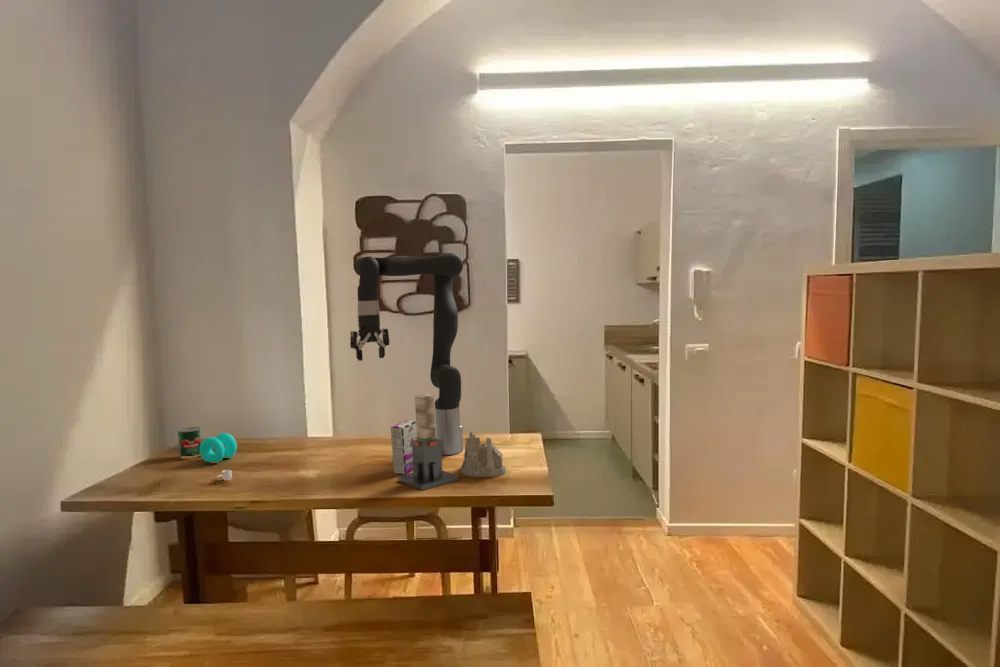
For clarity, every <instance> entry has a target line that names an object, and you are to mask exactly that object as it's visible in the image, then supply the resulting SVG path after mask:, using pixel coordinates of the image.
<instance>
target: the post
mask: <svg viewBox="0 0 1000 667" xmlns="http://www.w3.org/2000/svg"><path fill="white" fill-rule="evenodd" d="M414 406H415V407H414V408H415V420H416V431H417V437H416V440H417V441H420V442H423V443H426V442H430V441H435V440H436V419H435V396H434V395H432V394H427V393H425V394H420V395H415V396H414Z"/></svg>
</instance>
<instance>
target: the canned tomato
mask: <svg viewBox="0 0 1000 667" xmlns="http://www.w3.org/2000/svg"><path fill="white" fill-rule="evenodd" d="M177 436H178V437H177V438H178V451H179V456H180V455H181V456H195V455H199V454H200V446H201V443H202V438H201V437H202V436H201V427H200V426H189V427H184V428H180V429H178V430H177Z"/></svg>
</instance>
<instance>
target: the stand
mask: <svg viewBox="0 0 1000 667" xmlns="http://www.w3.org/2000/svg"><path fill="white" fill-rule="evenodd" d="M412 456H413V470H412V472H411V473H410V472H409V473H407V474H401V475H398V476H397V480H398V482H400V483H403V484H405V485H408V486H411V487H412V488H415V489H418V490H420V491H425V490H428V489H429V490H430V489H431V488H435V487H439V486H443V485H447V484H449V483H450V484H451V483H454V482H457V481H459V475H457V474H454V473H452V472H451V473H450V472H449V471H445V470H443V458H442V456H443V455H442V453H441V440H440V439H436V440H435V441H430V442H426V443H423V442H420V441H417V440H416V439H415V440H412Z"/></svg>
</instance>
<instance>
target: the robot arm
mask: <svg viewBox="0 0 1000 667" xmlns="http://www.w3.org/2000/svg"><path fill="white" fill-rule="evenodd" d="M353 270H354V272H355V274H356V275H357V276H359V285H357V319H358V320H357V322H358V324H357V325H358V331H354V330H352V331H350V339H349V340H350V343H349V344H350V349H353V350H355V352H356V353H355V354H356V355H355V356H356V359H357V361H360V362H361V361H363V360H364V359H363V357H364V356H363V347H364V346H365V345H366V343H376V344H377V346H378V357H379V359H384V358H385V356H386V354H385V353H386V350H385V348H386V347H387V346H390V336H389V335H390V334H389V329H388V328H382V329H381V328H380V327H381V320H380V319H381V314H380V313H381V312H380V311H381V310H380V305H379V292H378V285H379V280H380V278H379V277H380V276H382V277H406V276H407V277H409V276H418V275H433V286H434V288H433V289H434V292H433V294H434V297H433V321H432V322H433V324H432V326H433V330H432V331H433V334H432V335H433V336H432V337H433V340H432V341H433V342H432V344H433V345H432V358H431V366H430V382H431V384H432V385H433V386H434V387H435V388H437V389H438V398H437V399H435V400H434V409H435V433H436V439H440V440H441V453H442V456H443V455H444V456H451V455H457V454H460V453H461V452H464V438H463V437H464V436H463V435H464V433H463V426H462V425H461V416H460V413H461V412H460V403H461V400H462V376H461V373H460V371H459V369H458V368H457V367H456V366H452V365H451V353H452V347H453V344H454V342H455V340H456V337H457V334H458V329H459V312H458V307H457V304H456V300H455V298H454V297H455V296H454V293H453V292H454V291H453V282H454V278H455V277H457V276H458V275H460V274H461V273H462V272H463V270H464V262H463V259H462V257H460V255H458V254H457V253H453V252H446V253H441V254H438V255H435V256H385V257H373V256H362V257H359V258H357V260H356V261H355V262H354V264H353ZM380 335H381V336H382V338H381V337H380ZM358 337H360V338H359V339H358Z"/></svg>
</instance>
